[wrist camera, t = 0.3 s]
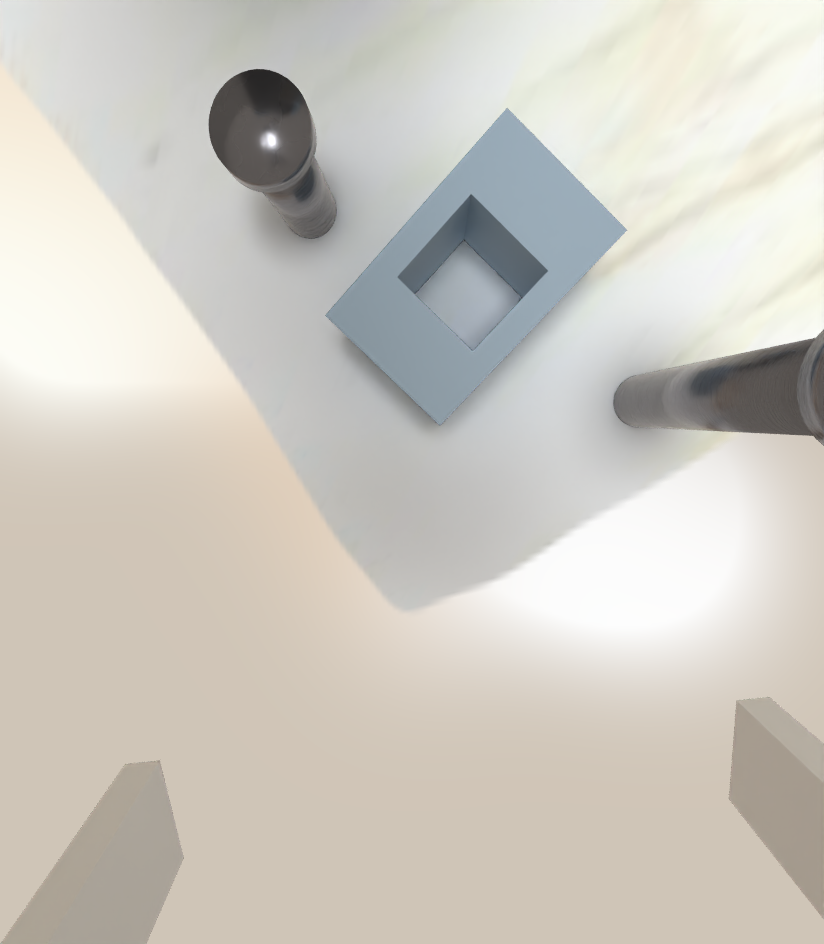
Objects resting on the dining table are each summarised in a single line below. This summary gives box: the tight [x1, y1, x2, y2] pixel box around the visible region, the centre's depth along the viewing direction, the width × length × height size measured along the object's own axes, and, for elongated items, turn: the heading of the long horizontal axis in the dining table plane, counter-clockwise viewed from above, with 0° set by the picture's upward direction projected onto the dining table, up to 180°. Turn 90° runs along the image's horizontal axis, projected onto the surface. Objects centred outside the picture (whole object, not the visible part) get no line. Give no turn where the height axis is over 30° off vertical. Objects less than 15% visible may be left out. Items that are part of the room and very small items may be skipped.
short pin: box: [209, 69, 336, 238], centre depth 29 cm, size 6×6×10 cm
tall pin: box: [614, 330, 824, 445], centre depth 25 cm, size 6×6×20 cm
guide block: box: [325, 108, 627, 425], centre depth 31 cm, size 16×10×7 cm, turn 136°
